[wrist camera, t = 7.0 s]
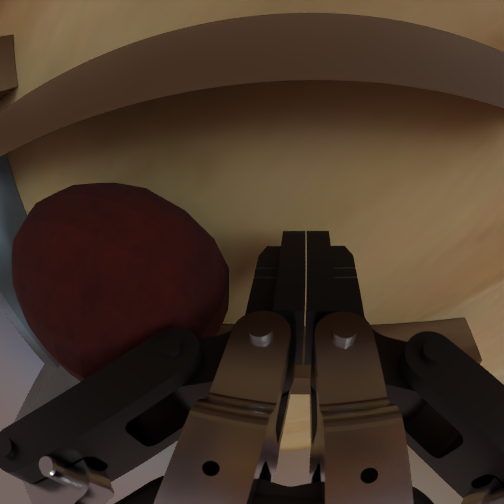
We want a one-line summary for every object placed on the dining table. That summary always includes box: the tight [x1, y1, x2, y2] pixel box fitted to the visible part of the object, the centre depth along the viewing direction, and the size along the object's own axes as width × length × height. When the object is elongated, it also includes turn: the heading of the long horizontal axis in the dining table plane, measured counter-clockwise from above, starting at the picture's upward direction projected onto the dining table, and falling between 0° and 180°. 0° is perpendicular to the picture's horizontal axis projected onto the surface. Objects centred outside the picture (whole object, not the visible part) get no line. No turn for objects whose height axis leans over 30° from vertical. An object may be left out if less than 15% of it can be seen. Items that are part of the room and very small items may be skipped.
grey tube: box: [14, 364, 80, 422], centre depth 17 cm, size 4×4×10 cm
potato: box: [11, 183, 229, 382], centre depth 9 cm, size 7×8×7 cm
